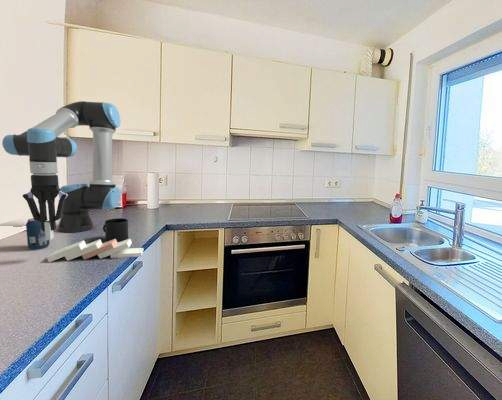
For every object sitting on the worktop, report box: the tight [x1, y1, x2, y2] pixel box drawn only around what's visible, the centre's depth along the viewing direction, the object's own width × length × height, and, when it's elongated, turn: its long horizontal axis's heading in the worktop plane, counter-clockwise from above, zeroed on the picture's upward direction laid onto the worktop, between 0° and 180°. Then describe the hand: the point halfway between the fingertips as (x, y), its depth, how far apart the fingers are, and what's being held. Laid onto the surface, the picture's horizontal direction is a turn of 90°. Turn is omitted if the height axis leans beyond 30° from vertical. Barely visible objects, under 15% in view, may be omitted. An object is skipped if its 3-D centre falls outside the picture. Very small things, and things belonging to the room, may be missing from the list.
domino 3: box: [81, 239, 119, 261], centre depth 100 cm, size 2×6×11 cm
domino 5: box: [109, 247, 144, 259], centre depth 103 cm, size 2×6×11 cm
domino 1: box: [46, 239, 87, 263], centre depth 96 cm, size 2×6×11 cm
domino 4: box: [97, 238, 133, 260], centre depth 101 cm, size 2×6×11 cm
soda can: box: [25, 217, 51, 251], centre depth 105 cm, size 7×7×12 cm
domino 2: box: [64, 239, 103, 262], centre depth 98 cm, size 2×6×11 cm
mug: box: [102, 217, 129, 243], centre depth 120 cm, size 9×12×9 cm
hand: (49, 238), depth 94 cm, fingers closed
